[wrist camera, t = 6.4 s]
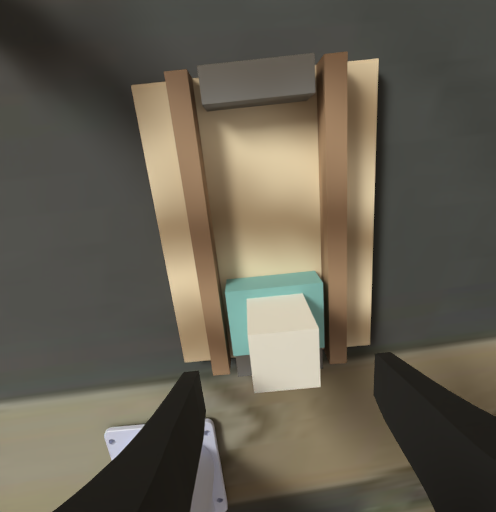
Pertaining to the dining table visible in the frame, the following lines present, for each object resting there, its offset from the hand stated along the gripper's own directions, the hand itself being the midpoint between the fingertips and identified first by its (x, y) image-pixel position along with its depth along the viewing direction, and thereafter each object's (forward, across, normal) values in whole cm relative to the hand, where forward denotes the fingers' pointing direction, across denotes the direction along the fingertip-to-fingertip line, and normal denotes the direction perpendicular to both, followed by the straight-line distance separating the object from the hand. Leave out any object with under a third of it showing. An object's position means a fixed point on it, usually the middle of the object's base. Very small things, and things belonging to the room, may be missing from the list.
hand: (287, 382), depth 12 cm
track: (+7, 0, -5) cm, 9 cm away
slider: (+6, 0, 0) cm, 6 cm away
